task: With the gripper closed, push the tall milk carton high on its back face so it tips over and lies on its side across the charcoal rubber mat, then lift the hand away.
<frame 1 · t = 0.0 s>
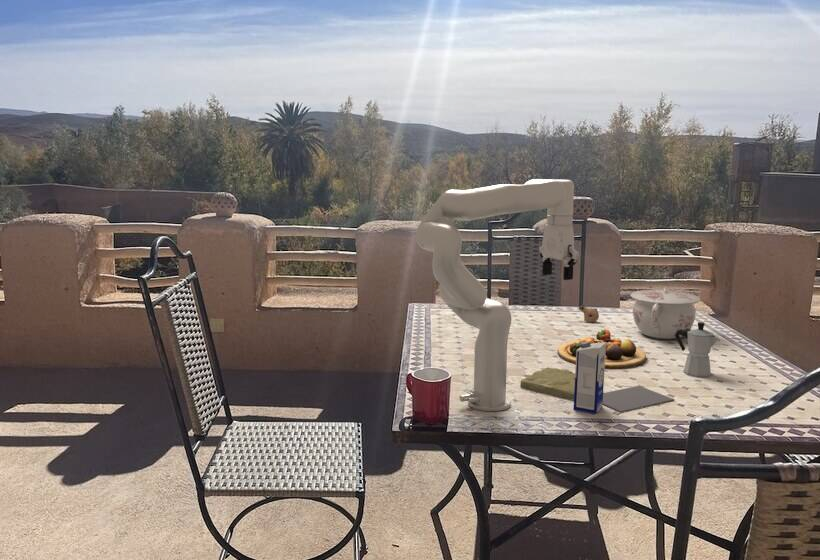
hand: (557, 277, 205), 37 cm above the table, tool pointing down, fingers open, 9 cm apart
chamber pot: (661, 336, 280), on the table
wooden plate with food: (600, 357, 251), on the table
decorative tile: (561, 388, 217), on the table
coffee maker: (693, 373, 231), on the table
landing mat: (630, 399, 205), on the table
oil lamp: (588, 322, 303), on the table
milk carton: (587, 408, 197), on the table
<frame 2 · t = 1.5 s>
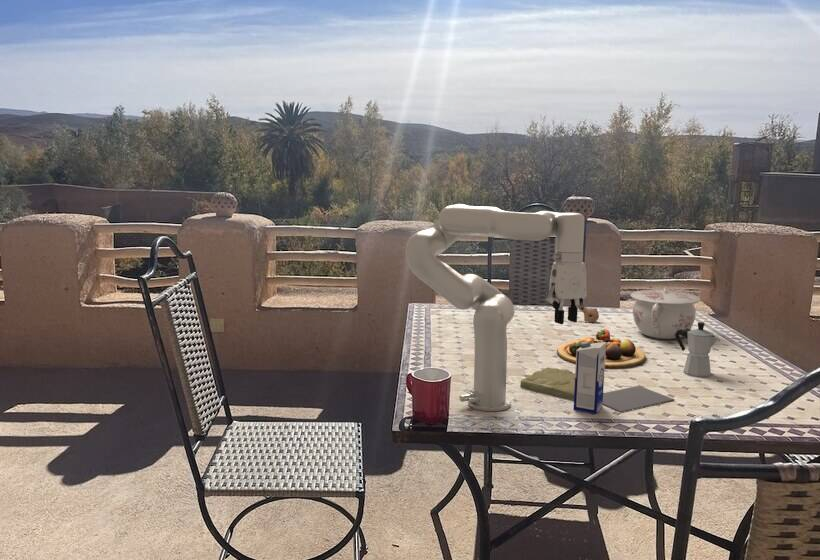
hand: (565, 321, 188), 27 cm above the table, tool pointing down, fingers open, 4 cm apart
nothing on the table moved.
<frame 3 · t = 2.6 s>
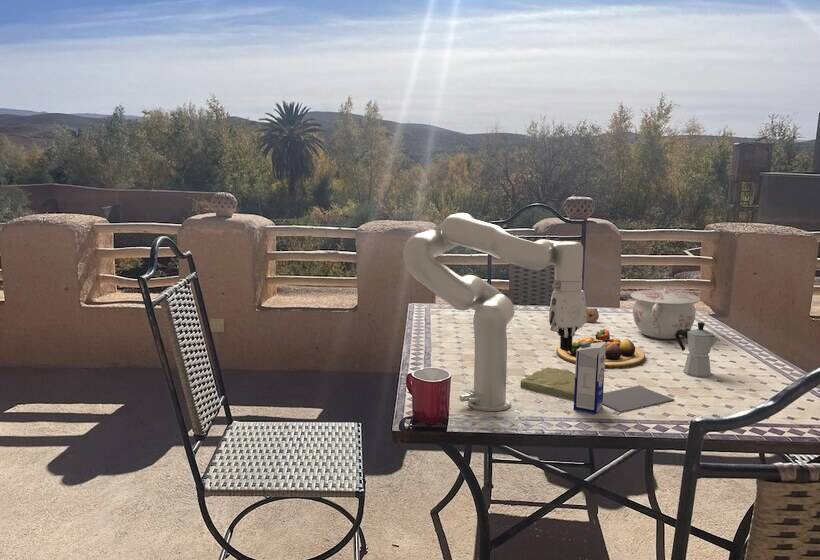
hand: (566, 349, 189), 19 cm above the table, tool pointing down, fingers closed
nothing on the table moved.
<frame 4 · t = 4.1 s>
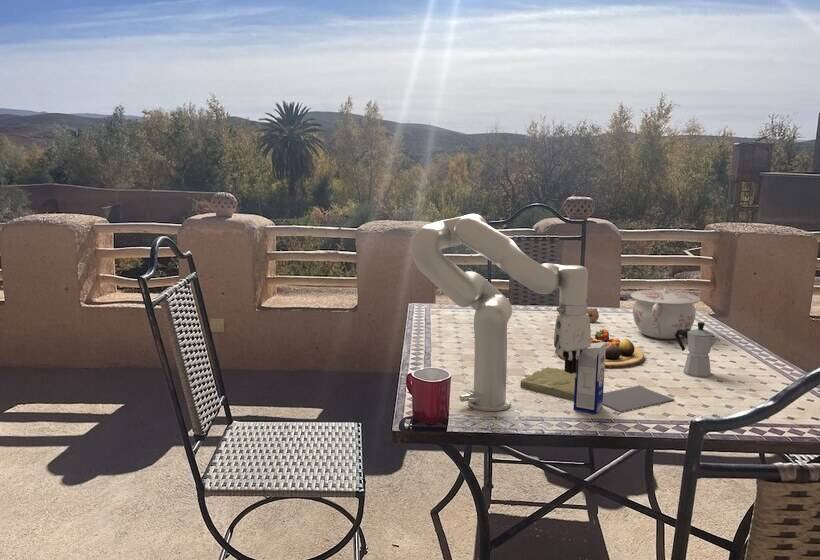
hand: (570, 372, 191), 12 cm above the table, tool pointing down, fingers closed
nothing on the table moved.
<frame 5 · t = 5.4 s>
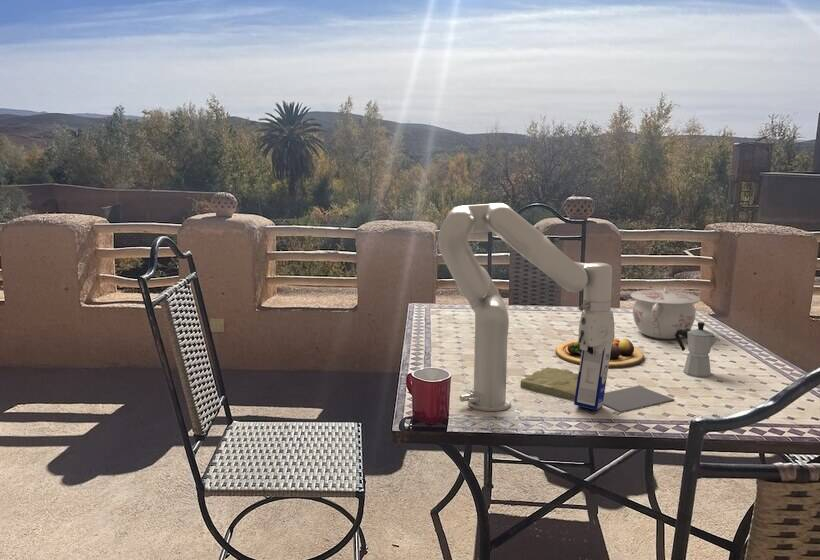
hand: (594, 367, 196), 12 cm above the table, tool pointing down, fingers closed
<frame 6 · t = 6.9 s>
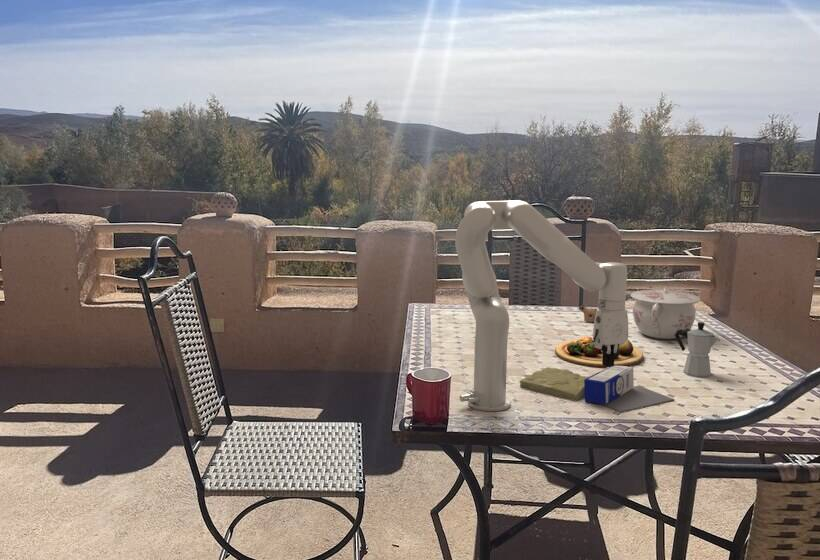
hand: (608, 365, 198), 12 cm above the table, tool pointing down, fingers closed
milk carton: (594, 392, 200), point 4 cm above the table, touching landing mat
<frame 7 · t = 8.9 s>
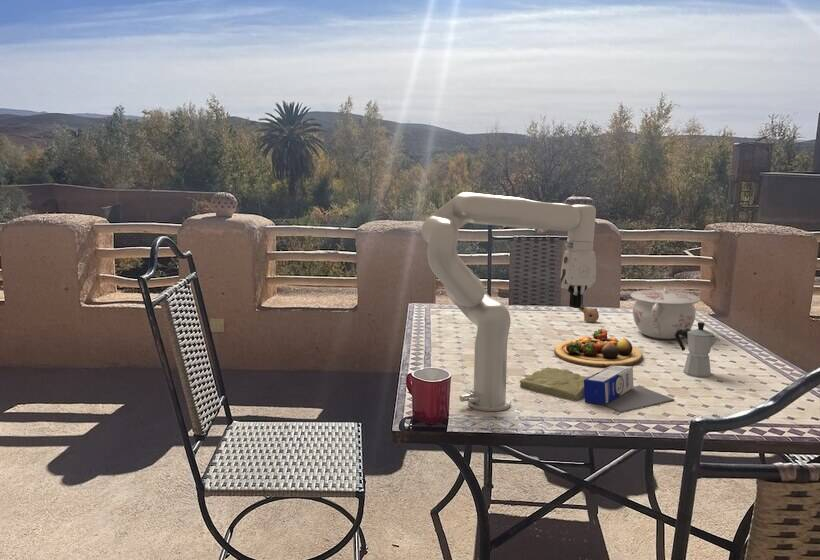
hand: (574, 307, 201), 28 cm above the table, tool pointing down, fingers closed
milk carton: (594, 392, 200), point 4 cm above the table, touching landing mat
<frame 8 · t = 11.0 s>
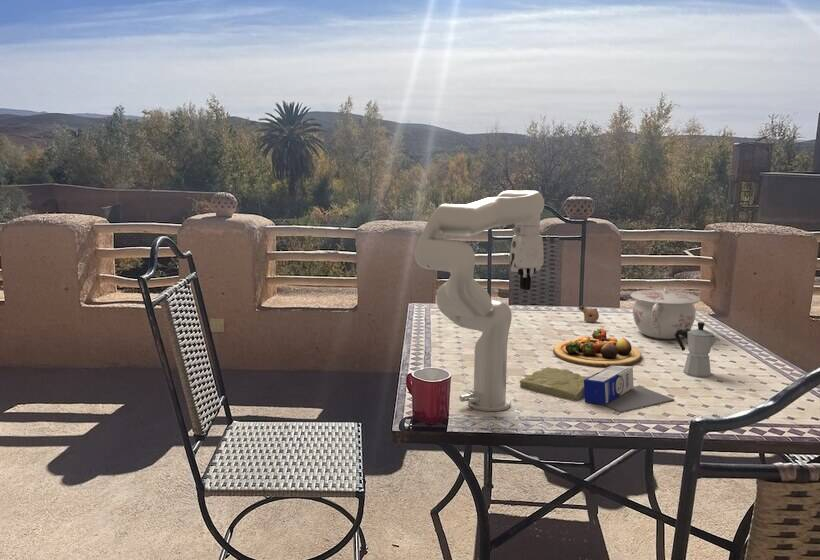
hand: (525, 289, 210), 32 cm above the table, tool pointing down, fingers closed
at the end: milk carton tilted 89°; milk carton touching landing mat, table; milk carton inside the target area (2.2 cm from its centre), point 3.7 cm above the table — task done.
